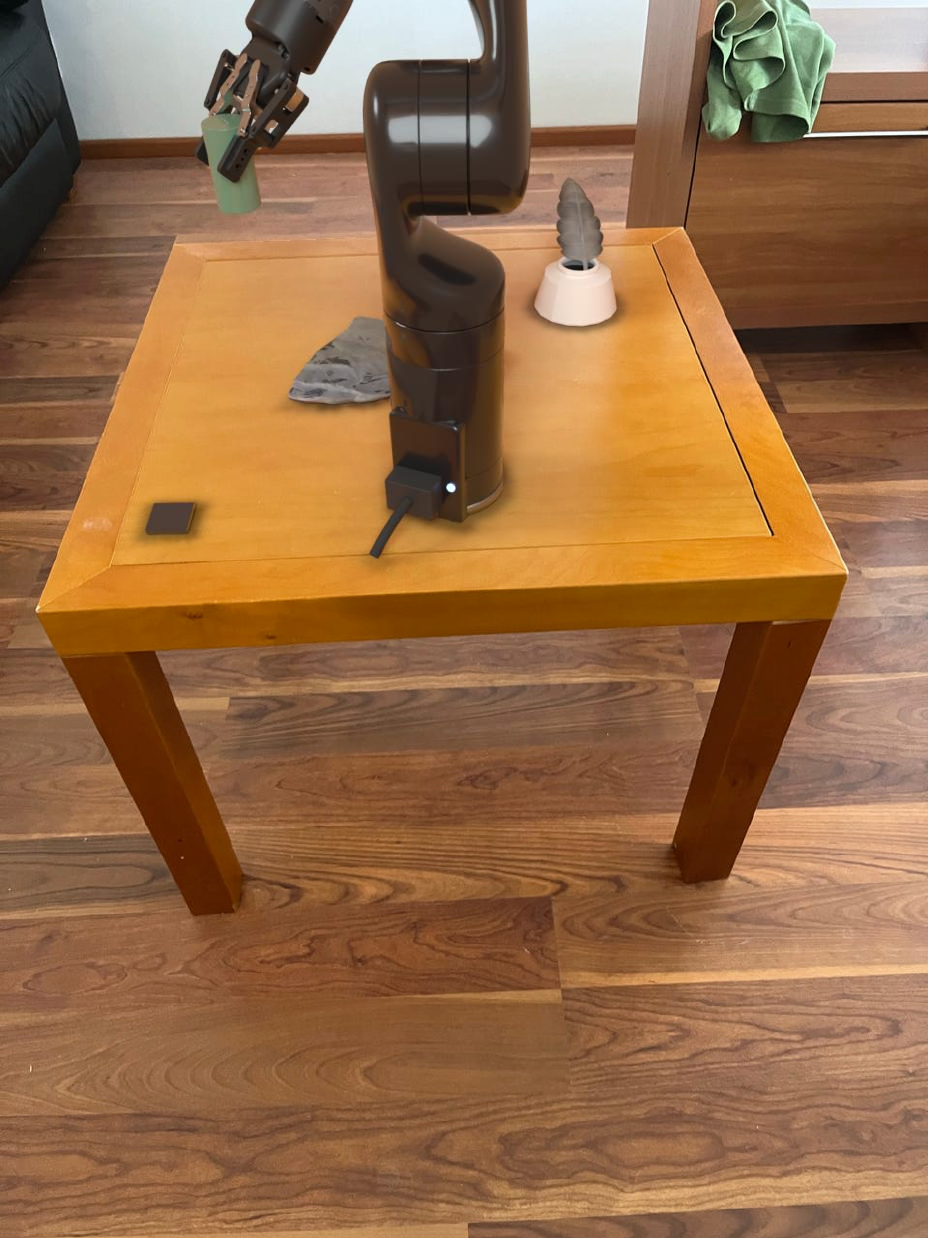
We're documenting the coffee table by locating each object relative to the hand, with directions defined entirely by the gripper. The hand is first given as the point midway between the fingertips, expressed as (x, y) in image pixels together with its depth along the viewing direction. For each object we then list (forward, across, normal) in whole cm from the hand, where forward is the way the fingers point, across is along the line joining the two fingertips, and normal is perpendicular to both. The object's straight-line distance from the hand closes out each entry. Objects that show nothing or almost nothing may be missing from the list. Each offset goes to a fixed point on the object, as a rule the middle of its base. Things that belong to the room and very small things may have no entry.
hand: (214, 168), depth 92 cm
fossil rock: (+7, +20, +16) cm, 27 cm away
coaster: (+26, +27, -4) cm, 38 cm away
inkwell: (-11, +17, +34) cm, 40 cm away
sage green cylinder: (+2, 0, +4) cm, 5 cm away
